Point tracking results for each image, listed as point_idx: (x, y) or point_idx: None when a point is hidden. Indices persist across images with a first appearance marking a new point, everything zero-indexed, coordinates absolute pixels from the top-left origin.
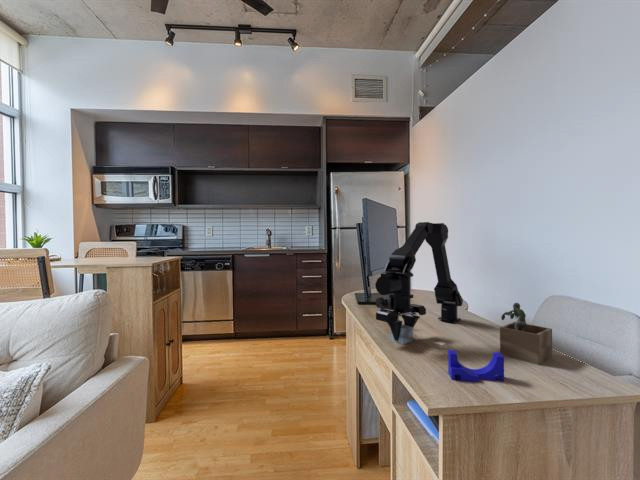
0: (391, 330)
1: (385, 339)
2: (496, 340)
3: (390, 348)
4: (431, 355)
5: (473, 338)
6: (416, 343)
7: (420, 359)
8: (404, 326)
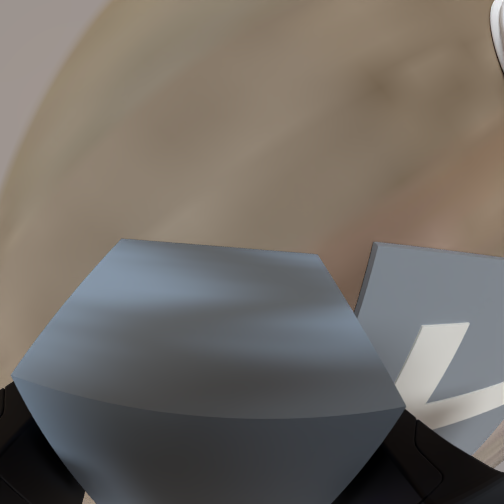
0: (6, 390)
1: (143, 128)
2: None
3: (15, 339)
4: None
5: (490, 439)
6: None
7: None
8: (270, 499)
